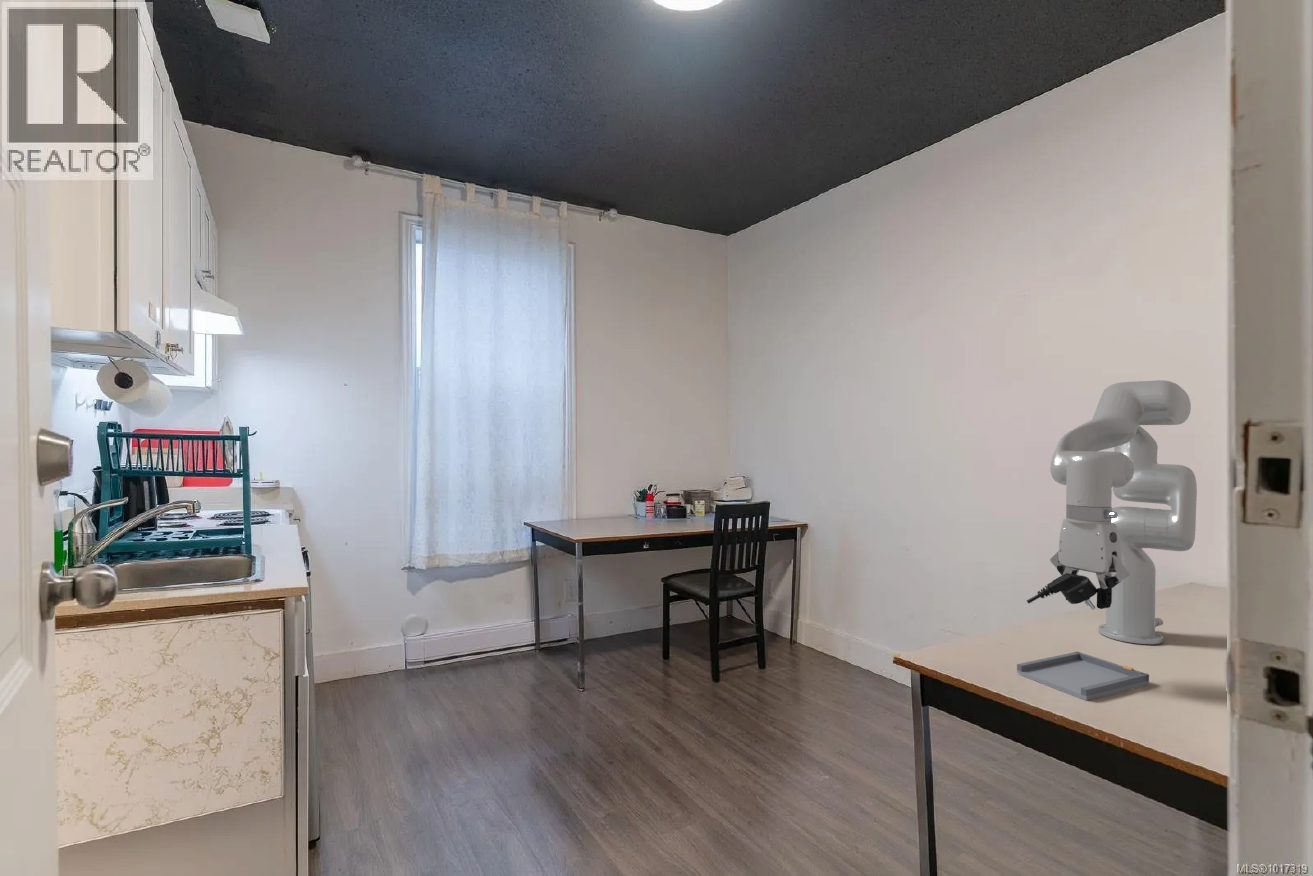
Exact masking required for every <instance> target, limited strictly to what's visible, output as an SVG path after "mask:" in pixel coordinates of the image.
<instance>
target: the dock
mask: <svg viewBox="0 0 1313 876" xmlns="http://www.w3.org/2000/svg"><path fill="white" fill-rule="evenodd" d="M1017 673H1019V674H1021V675H1022V677H1024V678H1027V679H1029V678H1031V679H1030V680H1032V681H1034V682H1037V683H1039V682H1040V684H1042V685H1044V686H1047V687H1050V688H1052V689H1055V690H1058V691H1060V692H1063V693H1065V694H1068V695H1070V696H1073V697H1075V698H1079V699H1081V700H1083V701H1086V702H1087V701H1091V700H1095V699H1099V698H1102V697H1106V696H1109V695H1115V694H1117V693H1122V692H1126V691H1129V690H1134V689H1136V688H1140V687H1141V688H1142V687H1145V686H1148V685H1150V674H1148V673H1145V672H1142V671H1139V670H1137V669H1134V667H1131V666H1128V665H1121V664H1117V663H1114V662H1111V661H1108V660H1105V659H1103V658H1099V657H1095V656H1092V655H1090V654H1087V653H1083V652H1079V651H1073V652H1068V653H1065V654H1064V653H1063V654H1059V655H1054V656H1049V657H1044V658H1040V659H1035V660H1030V661H1027V662H1022V663H1017V664H1016V674H1017ZM1019 674H1018V675H1019ZM1021 675H1020V676H1021Z"/></svg>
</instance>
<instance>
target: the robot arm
mask: <svg viewBox="0 0 1313 876" xmlns="http://www.w3.org/2000/svg"><path fill="white" fill-rule="evenodd" d="M1191 405H1192V404H1191V399H1190V397H1189V394H1188V393H1187V391H1185V389H1184V388H1182V387H1181V386H1180V385H1179V384H1178V383H1175V382H1174V381H1170V380H1157V379H1156V380H1142V381H1141V380H1140V381H1122V382H1121V381H1120V382H1116V383H1113V384H1110V385H1109V386H1107V387H1105V389H1104V390H1103V391H1102V393H1101V394H1100V398H1099V401H1098V404H1097V406H1096V408H1095V411H1094V414H1093V416H1092V420H1089V421H1086V422H1084V423H1082V424H1081V425H1078V426H1076V427H1075V428H1073V429H1071V430H1069V431H1068V432H1066V434H1064V435H1063V436H1062V437H1061V438H1060V440H1059V441H1058V443H1057V445H1056V447H1055V450H1054V452H1053V454H1052V458H1051V461H1050V475H1051V477H1052V479H1053V480H1054V481H1055V482H1056V483H1058V484H1059V485H1064V486H1066V487H1065V489H1066V490H1065V492H1066V493H1065V494H1066V498H1065V499H1066V505H1065V508H1066V509H1065V512H1066V513H1065V518H1063V520H1062V523H1061V529H1060V533H1059V541H1058V551H1057V552H1056V553H1055V554H1054V555H1053V556H1052V557H1050V559H1049V562H1050V563H1051V564H1052V565H1053V566H1054V567H1055V568H1056V570H1057V572H1058V573H1059V574H1060V576H1062V575H1064V574H1065V573H1070V574H1075V575H1079V572H1080V571H1083V572H1089V573H1095V575H1096V579H1097V581H1098V585H1099V587H1097V593H1096V608H1097V609H1101V610H1102V609H1105V610H1106V612H1105V613H1106V614H1105V615H1106V618H1105V624H1104V623H1103V624H1100V625H1099V626H1098V632H1099V634H1101V635H1102V636H1104V637H1106V638H1109V639H1113V640H1116V641H1120V642H1125V643H1130V644H1139V645H1159V644H1162V643H1163V642H1164V636H1163V635H1162V634H1161V633H1159V632H1158V631H1156V627H1160V626H1163V624H1164V620H1163V619H1162V618H1161V617H1156V573H1157V571H1156V566H1155V563H1154V562H1153V560H1152V559H1151V558H1150V556H1149V555H1148V554H1147V553H1146V551H1144V549H1154V550H1155V549H1156V550H1162V551H1173V552H1186V551H1189V550H1190V549H1192V547H1193V546H1194V544H1195V540H1196V526H1197V525H1196V524H1197V523H1196V521H1197V501H1198V499H1197V496H1198V495H1197V493H1198V492H1197V491H1198V488H1197V486H1198V485H1197V479H1196V476H1195V472H1194V471H1193V469H1191V468H1190V467H1189V466H1185V465H1183V464H1182V465H1181V464H1172V463H1171V464H1170V463H1169V464H1167V463H1158V449H1159V447H1158V443H1157V441H1156V440H1155V439H1154V437H1153V436H1152V435H1151V434H1150V433H1149V432H1148V431H1147V430H1146V429H1144V428H1143V427H1142V426H1177V425H1182V424H1184V423H1185V422H1187V420H1188V419H1189V417H1190V414H1191V409H1192V406H1191ZM1112 448H1114V449H1113V451H1105V450H1108V449H1112ZM1103 450H1104V451H1103ZM1112 492H1113V493H1112ZM1112 494H1114V496H1115V497H1116V498H1117V499H1119V500H1121V501H1126V502H1132V503H1134V502H1135V503H1144V504H1145V503H1146V504H1160V505H1161V504H1162V505H1168V506H1169V507H1170V509H1161V508H1149V507H1140V506H1138V507H1137V506H1115V507H1112ZM1065 600H1066V601H1068V600H1067V599H1066V598H1065Z"/></svg>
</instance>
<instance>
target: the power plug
mask: <svg viewBox="0 0 1313 876" xmlns="http://www.w3.org/2000/svg"><path fill="white" fill-rule="evenodd" d="M1097 589H1098V587H1096V586H1095V585H1094V583H1093V582H1092V581H1091V580H1090V578H1089V577H1087V576H1086V575H1085V576H1084V575H1080V574H1078V575H1075V574H1070V573H1065V574H1064V575H1060V576H1059V577H1057V578H1055V579H1053V580H1052V581H1050V582H1049V583H1047V584H1046V585H1045V586H1044V587H1042V588H1041V589H1040V590H1038V591H1037V592H1036V593H1037V594H1036V595H1034V596H1032V597H1030V598H1029V599H1026V602H1027V603H1028V604H1031V603H1033V602H1034V601H1037V600H1038V599H1039V598H1041V599H1044V598H1045V597H1047V598H1048V596H1049V597H1050V596H1051V595H1052V596H1053V595H1054V594H1058V593H1061V594H1062V595H1063V597H1064V598H1065V600H1066V599H1067V600H1066V601H1067V602H1068V603H1069V604H1071V605H1076V604H1081V603H1083V602H1084V604H1085V605H1086V606H1088V607H1089V608H1090V609H1091V610H1096V606H1095V605H1094V603H1093V602H1092V601H1091V598H1092V597H1094V596H1095V595H1097Z"/></svg>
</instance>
